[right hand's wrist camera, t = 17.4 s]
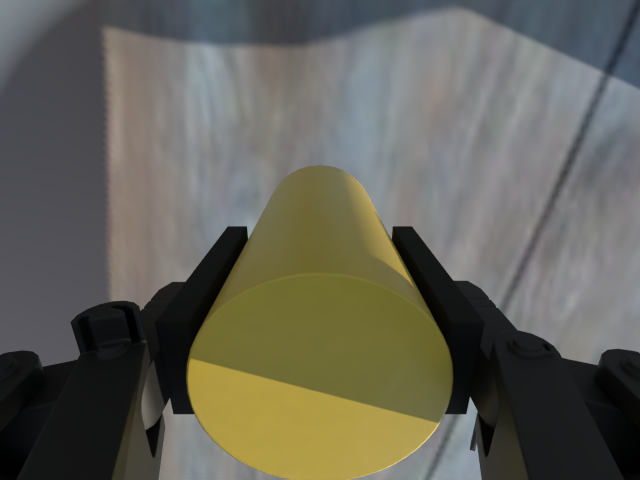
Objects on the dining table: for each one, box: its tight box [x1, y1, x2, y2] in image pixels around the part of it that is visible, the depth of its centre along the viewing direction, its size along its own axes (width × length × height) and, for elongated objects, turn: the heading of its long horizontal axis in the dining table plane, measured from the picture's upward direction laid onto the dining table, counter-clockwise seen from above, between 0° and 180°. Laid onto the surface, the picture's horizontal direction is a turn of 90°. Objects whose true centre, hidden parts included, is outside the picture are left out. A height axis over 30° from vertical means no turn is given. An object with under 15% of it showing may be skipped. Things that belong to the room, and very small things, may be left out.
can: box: [186, 165, 453, 480], centre depth 13 cm, size 6×6×13 cm
